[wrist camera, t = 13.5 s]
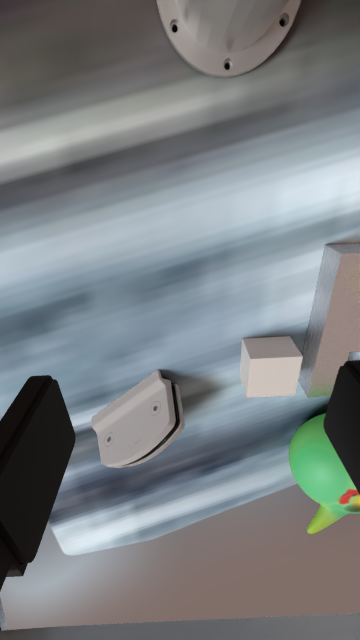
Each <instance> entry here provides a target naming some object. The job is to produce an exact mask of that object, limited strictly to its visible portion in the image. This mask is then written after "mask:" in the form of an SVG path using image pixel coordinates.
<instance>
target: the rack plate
mask: <svg viewBox="0 0 360 640" xmlns="http://www.w3.org/2000/svg"><path fill="white" fill-rule="evenodd" d="M350 352H360V243H347V244H327V245H325V247H324V252H323V257H322V262H321V267H320V272H319V276H318V281H317V286H316V291H315V296H314V301H313V306H312V311H311V315H310V320H309V325H308V330H307V335H306V340H305V345H304V350H303V354H302V356H303V358H302V363H301V368H300V373H299V378H298V381H299V383H300V385H301V387H302V388H303V390H304V392H305V394H306V395H307V397H319V396H331V394H332V391H333V387H334V384H335V380H336V377H337V374H338V370H339V368H340V366H343V365H344V363H345V362H346V361H347V360H348V357H349V353H350Z"/></svg>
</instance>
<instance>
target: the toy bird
mask: <svg viewBox="0 0 360 640" xmlns="http://www.w3.org/2000/svg"><path fill="white" fill-rule="evenodd" d="M325 415H326V413H325V414H321V415H318V416H316V417H314V418H312V419H310V420H308V421H307V422H305V423H304V424H303V425H301V426H300V427H299V428H298V430H297V431H296V432H295V434H294V435H293V437H292V440H291V443H290V447H289V463H290V468H291V471H292V474H293V476H294V478H295V480H296V482H297V483H298V485H299V486H300V487H301V489H302V490H303V491H304V492H305V493H306V494H307V495H308V496H309V497H310V498H312V499H313V500H314V501H316V502H318V503H319V504H320V508H319V509H318V511H317V513H316V515H315V516H314V517H313V519H312V521H311V523H310V524H309V526H308V528H307V532H308V533H310V534H313V533H316V532H318V531H320V530H322V529H324V528H326V527H327V526H329V525H330V524H332V523H333V522H335V521H337V520H338V519H340V518H341V517H343V516H344V515H346V514H348V513H360V494H359V493H358V491H357V489H356V487H355V485H354V484H353V482H352V480H351V478H350V476H349V475H348V473H347V471H346V469H345V467H344V466H343V464H342V462H341V460H340V458H339V457H338V455H337V453H336V451H335V449H334V447H333V446H332V444H331V442H330V440H329V438H328V437H327V435H326V433H325V430H324V426H323V422H324V418H325Z"/></svg>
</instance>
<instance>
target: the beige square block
mask: <svg viewBox="0 0 360 640" xmlns="http://www.w3.org/2000/svg"><path fill="white" fill-rule="evenodd" d="M302 358H303V356H302V354H301V353H300V351H299V350H298V348H297V347H296V345H295V344H294V342H293V341H292V339H291V338H290V336H284V337H263V338H243V339H242V352H241V365H240V377H241V381H242V384H243V387H244V390H245V394H246V397H247V398H248V397H269V396H290V395H295V392H296V387H297V382H298V378H299V373H300V368H301V363H302Z"/></svg>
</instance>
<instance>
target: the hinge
mask: <svg viewBox="0 0 360 640" xmlns="http://www.w3.org/2000/svg"><path fill="white" fill-rule="evenodd" d="M184 425H185V422H184V415H183V409H182V402H181V396H180V389H179V386H178V385H177V384H176V383H175V384H173V385H172V386H171V381H170V380H167V379H163V378H162V377H161V373H160V371H159V370H156V371H155V372H153V373H152V374H151V375H149V376H148V377H147V378H145V379H144V380H142V381H141V382H140V383H138V384H137V385H136V386H134V387H133V388H131V389H130V390H129V391H127V392H126V393H125V394H123V395H122V396H120V397H119V398H118V399H116V400H115V401H114V402H112V403H111V404H110V405H108V406H107V407H105V408H104V409H103V410H101V411H100V412H99V413H97V414H96V415H94V416H93V417H92V428H93V429H94V430H95V431H96V433H97V436H98V443H99V450H100V456H101V462H102V464H103V465H106V466H108V467H115V468H123V467H129V466H134V465H138V464H140V463H143V462H145V461H147V460H149V459H151V458H153V457H154V456H156V455H157V454H159V453H160V452H161V451H163V450H164V449H165V448H166V447H167V446H168V445H169V444H170V443H171V442H172V441H173V440H174V439H175V438H176V437H177V436H178V435H179V434H180V432H181V431H182V430H183V428H184Z"/></svg>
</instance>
